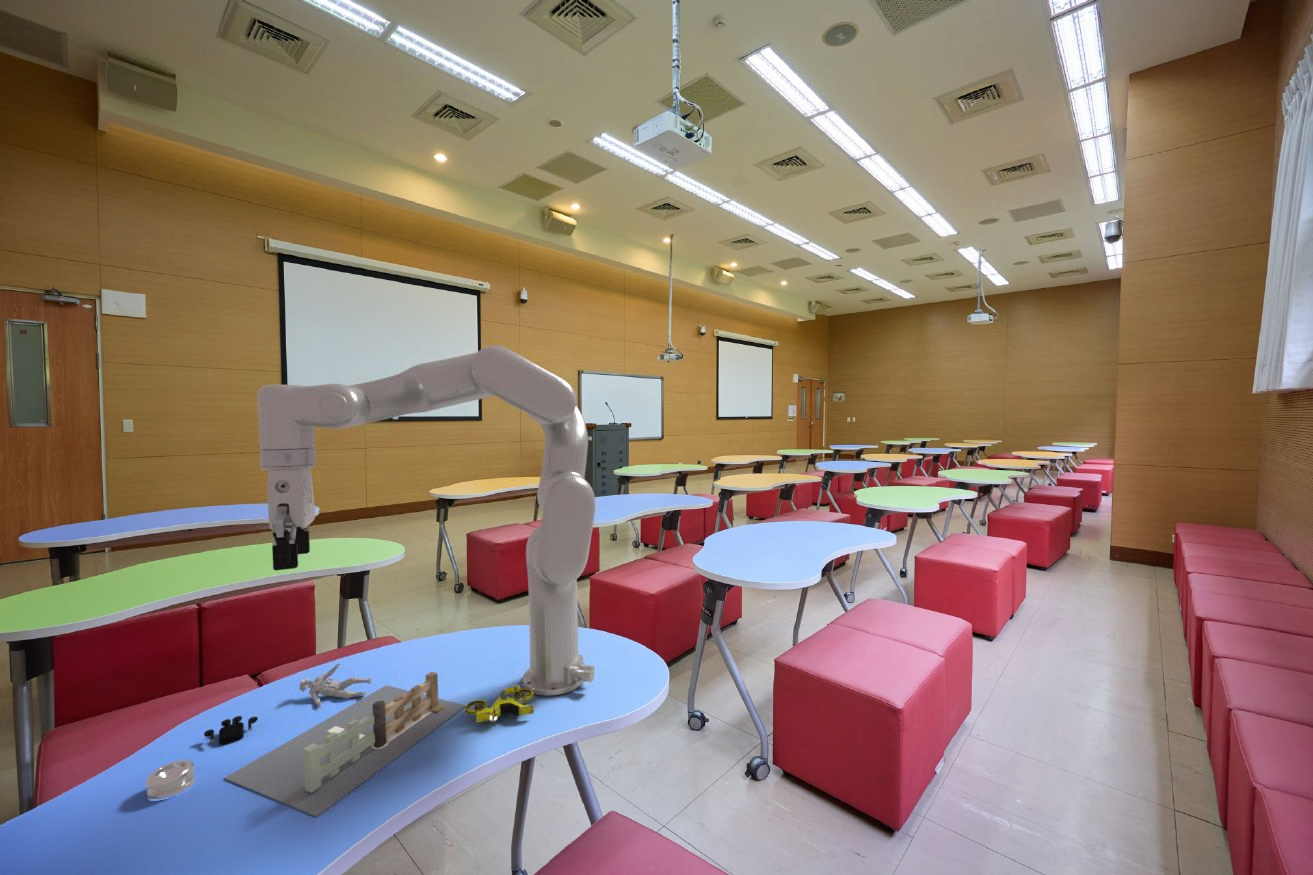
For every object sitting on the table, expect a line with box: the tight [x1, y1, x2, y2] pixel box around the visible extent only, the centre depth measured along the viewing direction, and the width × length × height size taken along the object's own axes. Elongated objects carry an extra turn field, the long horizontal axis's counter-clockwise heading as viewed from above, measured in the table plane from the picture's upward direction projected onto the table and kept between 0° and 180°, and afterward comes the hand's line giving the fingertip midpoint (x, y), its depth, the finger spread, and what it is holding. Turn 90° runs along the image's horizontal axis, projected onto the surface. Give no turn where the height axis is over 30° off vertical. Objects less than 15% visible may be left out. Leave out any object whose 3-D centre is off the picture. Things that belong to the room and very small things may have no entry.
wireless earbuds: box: [203, 715, 259, 746], centre depth 87 cm, size 7×2×5 cm
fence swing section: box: [303, 714, 375, 793], centre depth 78 cm, size 10×1×6 cm, turn 158°
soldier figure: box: [299, 663, 372, 708], centre depth 99 cm, size 8×5×12 cm
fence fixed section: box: [372, 671, 444, 748], centre depth 89 cm, size 13×4×7 cm, turn 158°
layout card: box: [223, 684, 467, 818], centre depth 86 cm, size 20×28×1 cm
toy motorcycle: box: [464, 684, 535, 727], centre depth 92 cm, size 12×4×7 cm
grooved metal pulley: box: [146, 759, 196, 799], centre depth 75 cm, size 5×3×5 cm
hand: (292, 561), depth 87 cm, fingers open, 9 cm apart
